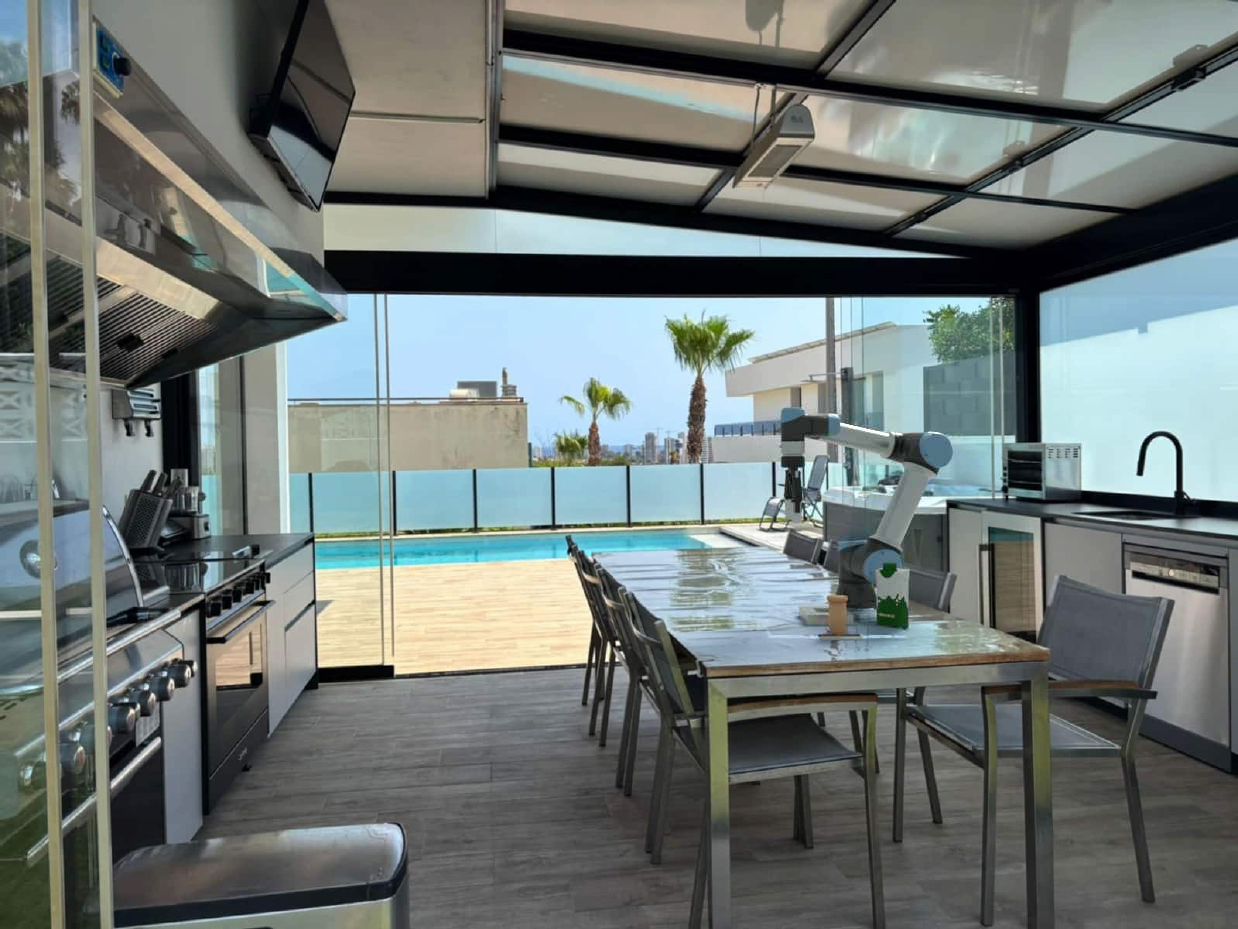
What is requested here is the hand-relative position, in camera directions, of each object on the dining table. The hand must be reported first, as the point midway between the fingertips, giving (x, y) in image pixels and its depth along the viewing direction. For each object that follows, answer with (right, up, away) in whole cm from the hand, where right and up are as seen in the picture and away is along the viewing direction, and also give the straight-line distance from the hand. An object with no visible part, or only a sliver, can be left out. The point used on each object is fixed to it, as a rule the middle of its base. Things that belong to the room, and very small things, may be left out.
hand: (793, 521), depth 269 cm
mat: (+9, -32, -22) cm, 40 cm away
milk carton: (+28, -32, -13) cm, 44 cm away
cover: (+9, -32, -23) cm, 40 cm away
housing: (+9, -32, -6) cm, 33 cm away
